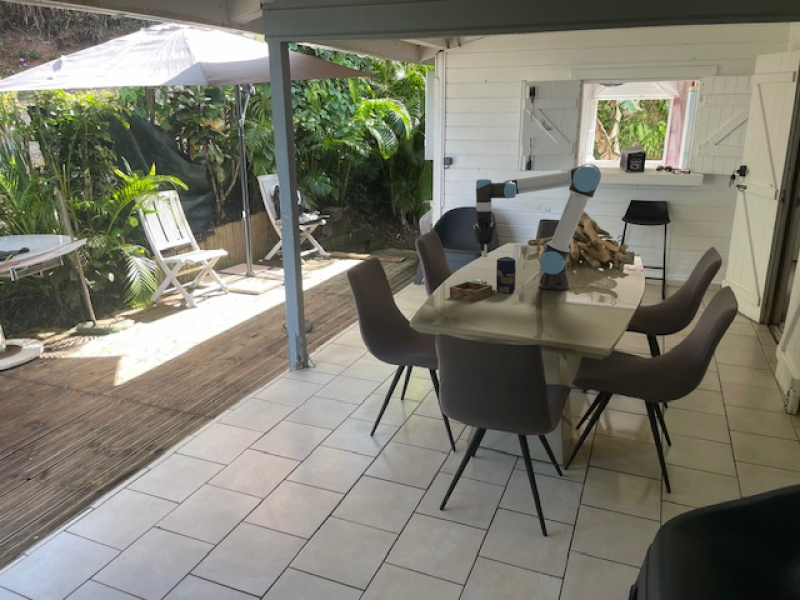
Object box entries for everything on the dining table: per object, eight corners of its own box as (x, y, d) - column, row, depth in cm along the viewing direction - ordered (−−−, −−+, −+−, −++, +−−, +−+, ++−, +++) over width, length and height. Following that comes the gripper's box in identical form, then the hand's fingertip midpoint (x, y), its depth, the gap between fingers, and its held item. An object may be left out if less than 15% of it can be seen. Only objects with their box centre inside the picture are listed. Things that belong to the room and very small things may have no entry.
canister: (514, 294, 303) (515, 258, 298) (495, 293, 305) (496, 258, 300) (515, 289, 312) (516, 255, 307) (496, 289, 314) (497, 254, 309)
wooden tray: (495, 294, 305) (495, 284, 303) (474, 301, 292) (475, 291, 290) (470, 289, 314) (470, 280, 313) (449, 297, 301) (449, 287, 300)
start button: (482, 286, 316) (482, 280, 315) (478, 288, 313) (478, 281, 312) (476, 285, 318) (476, 279, 317) (472, 287, 316) (472, 280, 315)
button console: (486, 288, 316) (487, 281, 315) (479, 290, 311) (479, 284, 310) (475, 286, 321) (475, 279, 320) (468, 288, 316) (468, 282, 315)
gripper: (489, 208, 310) (490, 254, 316) (468, 211, 304) (469, 257, 310) (499, 209, 304) (499, 256, 310) (477, 212, 298) (478, 259, 304)
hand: (484, 256), depth 310 cm, fingers closed
